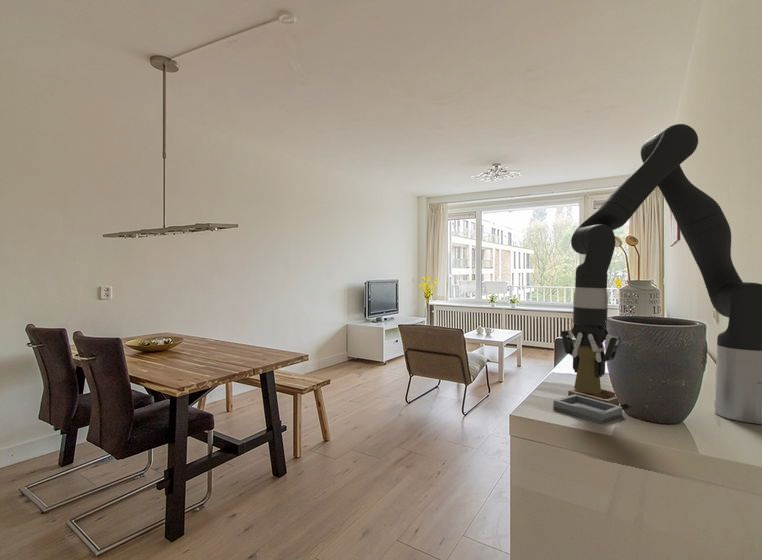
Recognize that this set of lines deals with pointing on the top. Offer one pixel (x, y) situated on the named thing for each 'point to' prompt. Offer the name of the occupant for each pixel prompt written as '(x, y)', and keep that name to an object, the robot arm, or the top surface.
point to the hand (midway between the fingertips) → (588, 374)
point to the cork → (587, 371)
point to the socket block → (598, 396)
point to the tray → (588, 408)
